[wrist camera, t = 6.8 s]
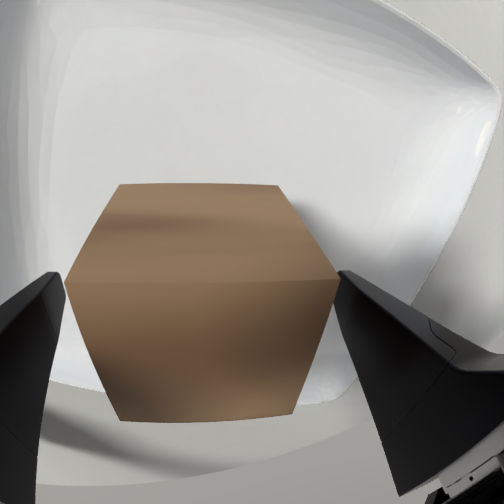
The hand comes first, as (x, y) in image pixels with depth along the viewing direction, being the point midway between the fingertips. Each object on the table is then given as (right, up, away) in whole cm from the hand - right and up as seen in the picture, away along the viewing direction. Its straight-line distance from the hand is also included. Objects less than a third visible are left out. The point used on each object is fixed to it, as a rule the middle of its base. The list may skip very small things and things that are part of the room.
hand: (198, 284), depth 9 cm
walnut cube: (0, +1, +1) cm, 2 cm away
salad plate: (0, +3, +5) cm, 5 cm away
